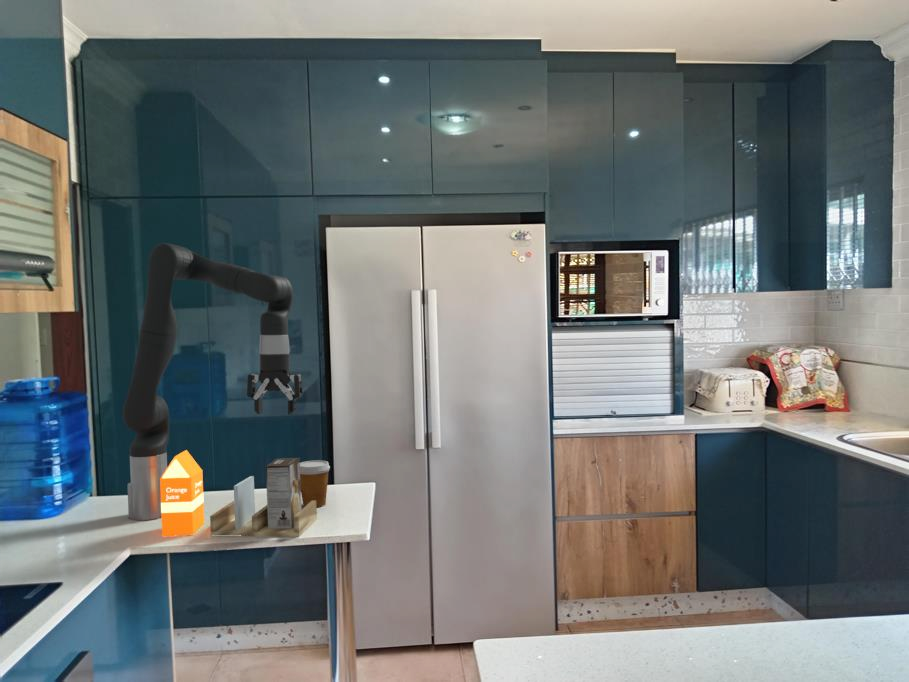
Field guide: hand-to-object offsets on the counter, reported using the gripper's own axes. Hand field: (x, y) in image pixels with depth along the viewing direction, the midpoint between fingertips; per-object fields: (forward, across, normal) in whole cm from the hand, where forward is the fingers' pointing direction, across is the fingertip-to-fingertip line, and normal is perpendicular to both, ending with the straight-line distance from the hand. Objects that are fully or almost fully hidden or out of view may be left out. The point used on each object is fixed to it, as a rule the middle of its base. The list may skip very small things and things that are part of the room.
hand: (275, 413), depth 169 cm
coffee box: (+28, +4, -4) cm, 28 cm away
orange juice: (+29, -22, -8) cm, 37 cm away
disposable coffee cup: (+29, +5, +16) cm, 33 cm away
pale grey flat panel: (+29, -7, -4) cm, 30 cm away
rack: (+29, -1, -4) cm, 29 cm away
